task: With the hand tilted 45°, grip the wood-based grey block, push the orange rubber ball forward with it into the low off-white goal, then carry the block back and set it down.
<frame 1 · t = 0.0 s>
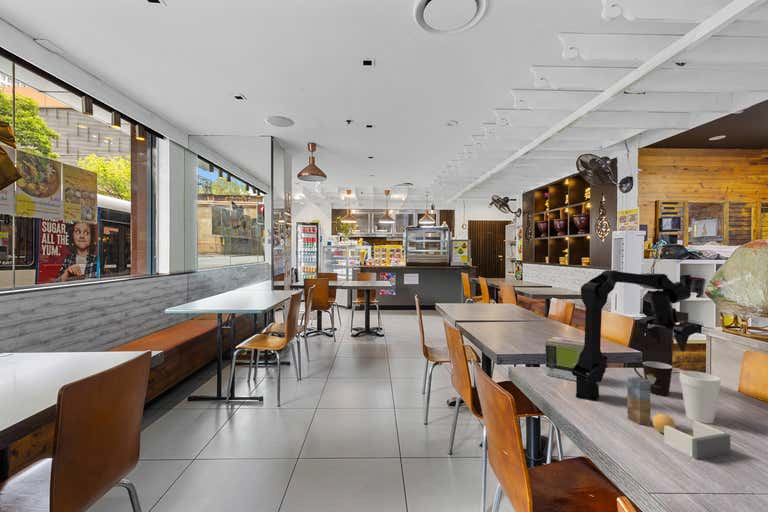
hand: (671, 347, 134), 15 cm above the table, tool pointing down, fingers open, 9 cm apart
coffee mug: (654, 391, 133), on the table
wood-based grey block: (638, 421, 109), on the table
foam cup: (699, 419, 111), on the table
ball: (663, 423, 102), point 2 cm above the table
tea box: (568, 376, 151), on the table
goal: (696, 447, 94), on the table
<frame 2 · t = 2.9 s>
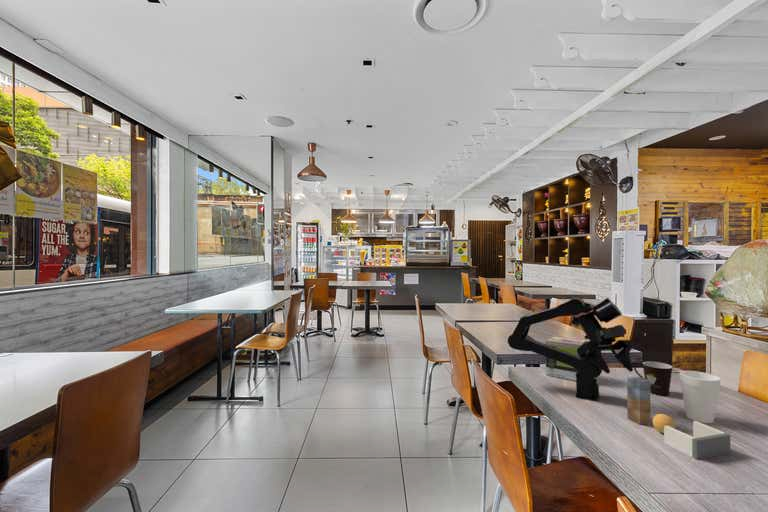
hand: (620, 372, 116), 13 cm above the table, tool tilted 45°, fingers open, 9 cm apart
nothing on the table moved.
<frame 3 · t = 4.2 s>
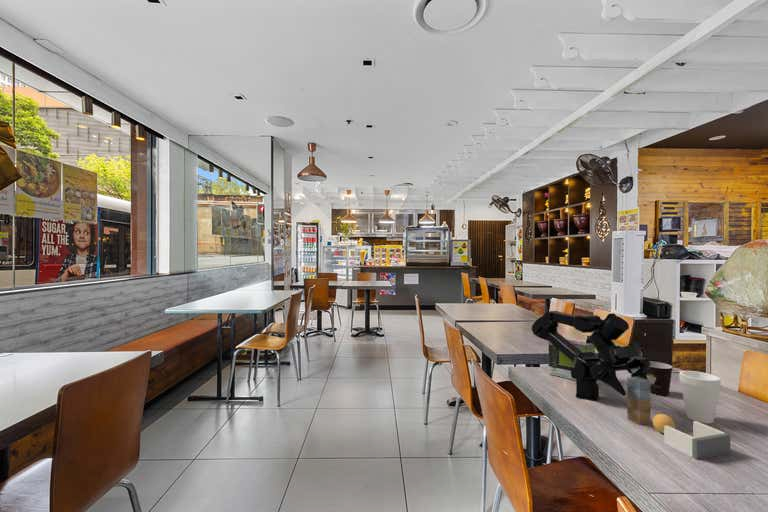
hand: (637, 393, 110), 8 cm above the table, tool tilted 45°, fingers open, 9 cm apart
tea box: (571, 376, 151), on the table
everything else where it was.
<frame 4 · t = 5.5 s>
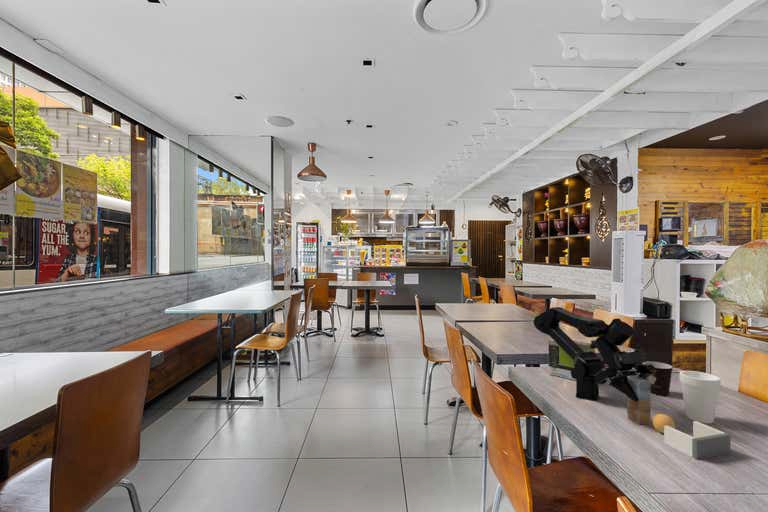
hand: (643, 400, 108), 7 cm above the table, tool tilted 45°, fingers closed on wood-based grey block, 4 cm apart
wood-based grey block: (639, 421, 109), on the table, touching gripper
everything else where it was.
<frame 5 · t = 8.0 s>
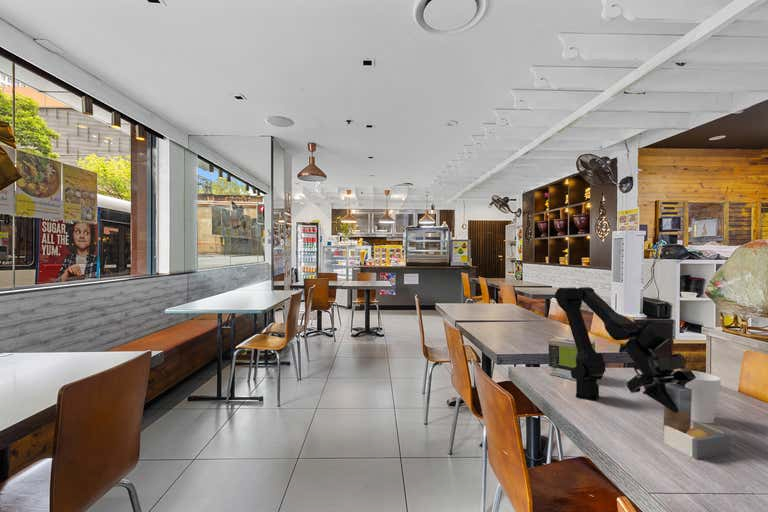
hand: (683, 411, 97), 8 cm above the table, tool tilted 45°, fingers closed on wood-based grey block, 4 cm apart
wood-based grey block: (676, 432, 99), point 2 cm above the table, touching gripper
ball: (697, 439, 93), point 2 cm above the table, tilted 154°
everything else where it was.
when the fingers open (7 cm above the table, at t = 10.6 s): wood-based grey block stays where it is, on the table.
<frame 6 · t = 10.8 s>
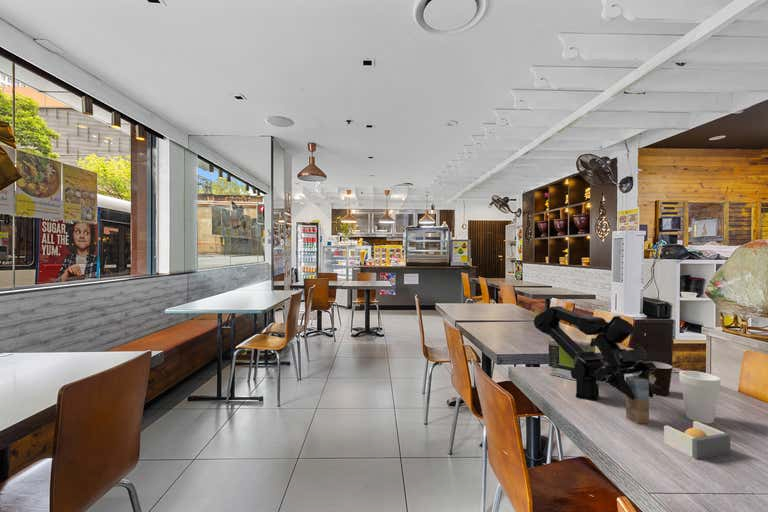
hand: (643, 398, 108), 7 cm above the table, tool tilted 45°, fingers open, 6 cm apart
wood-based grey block: (637, 420, 110), on the table
ball: (696, 438, 94), point 2 cm above the table, tilted 161°
everything else where it was.
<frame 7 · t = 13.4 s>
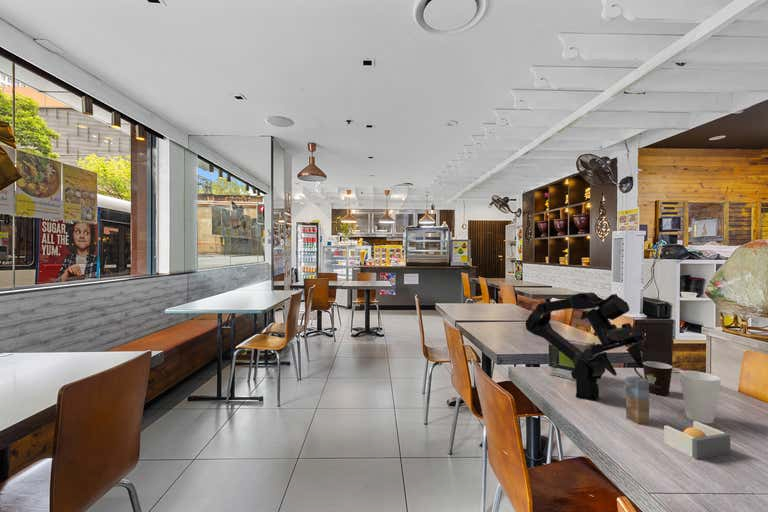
hand: (629, 371, 116), 13 cm above the table, tool tilted 35°, fingers open, 9 cm apart
ball: (695, 438, 94), point 2 cm above the table, tilted 166°
everything else where it was.
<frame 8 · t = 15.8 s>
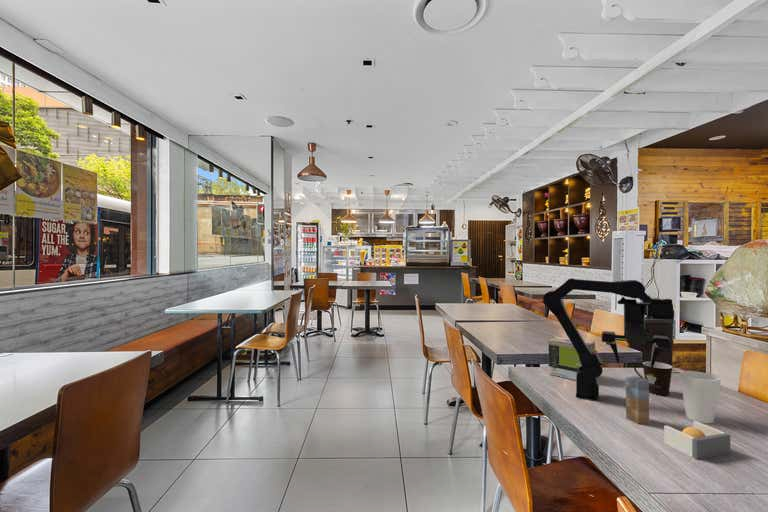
hand: (634, 365, 122), 13 cm above the table, tool pointing down, fingers open, 9 cm apart
nothing on the table moved.
at the end: ball 0.5 cm from the goal (horizontally); ball point 2.5 cm above the table; the gripper is holding nothing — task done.
